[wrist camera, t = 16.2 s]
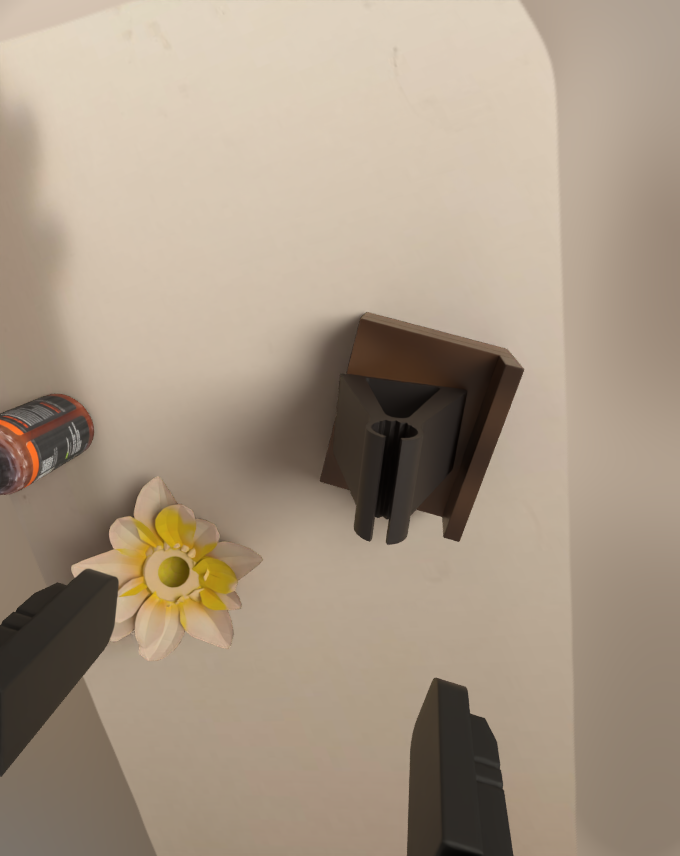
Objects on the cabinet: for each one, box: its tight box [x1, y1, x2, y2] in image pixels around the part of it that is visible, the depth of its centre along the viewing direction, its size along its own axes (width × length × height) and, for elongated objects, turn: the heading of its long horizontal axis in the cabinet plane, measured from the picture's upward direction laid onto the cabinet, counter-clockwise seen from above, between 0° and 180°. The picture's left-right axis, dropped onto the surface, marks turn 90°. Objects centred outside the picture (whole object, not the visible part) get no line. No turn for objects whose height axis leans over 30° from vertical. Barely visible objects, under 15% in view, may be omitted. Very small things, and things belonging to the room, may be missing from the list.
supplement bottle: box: [0, 394, 94, 495], centre depth 41 cm, size 6×6×11 cm
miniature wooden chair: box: [320, 312, 524, 542], centre depth 38 cm, size 13×11×7 cm
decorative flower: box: [71, 477, 263, 661], centre depth 44 cm, size 15×11×10 cm
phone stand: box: [333, 374, 467, 545], centre depth 32 cm, size 9×6×12 cm, turn 84°
